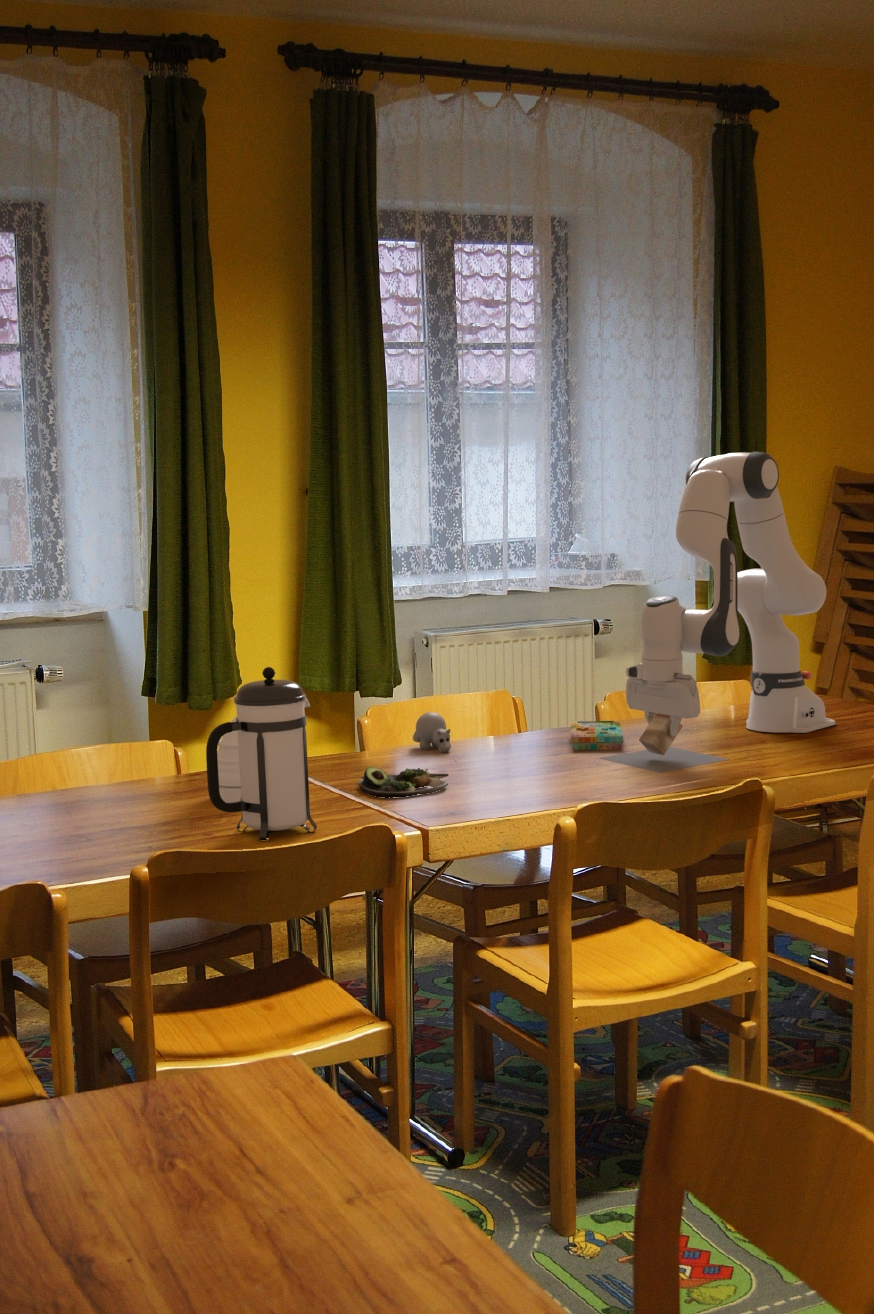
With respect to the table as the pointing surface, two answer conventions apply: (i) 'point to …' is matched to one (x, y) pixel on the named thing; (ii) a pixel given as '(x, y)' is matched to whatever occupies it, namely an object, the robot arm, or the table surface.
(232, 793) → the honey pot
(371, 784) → the salad plate
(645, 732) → the birch block
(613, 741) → the puzzle game
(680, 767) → the felt mat
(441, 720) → the round bodied animal figurine
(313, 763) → the table surface
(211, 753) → the coffee press
